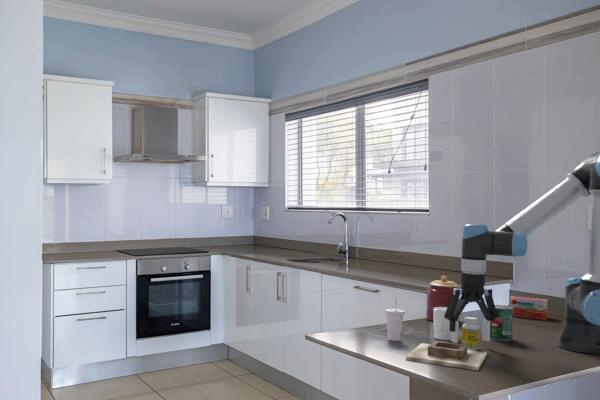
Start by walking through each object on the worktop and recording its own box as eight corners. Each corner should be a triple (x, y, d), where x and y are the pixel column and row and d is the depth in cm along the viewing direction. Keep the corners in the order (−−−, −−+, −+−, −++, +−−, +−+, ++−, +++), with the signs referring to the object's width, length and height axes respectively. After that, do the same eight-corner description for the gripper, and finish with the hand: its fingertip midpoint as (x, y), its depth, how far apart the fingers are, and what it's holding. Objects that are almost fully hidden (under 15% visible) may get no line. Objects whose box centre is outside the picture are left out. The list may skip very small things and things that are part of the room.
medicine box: (547, 317, 258) (548, 299, 258) (547, 320, 250) (547, 301, 250) (509, 313, 264) (510, 295, 264) (508, 316, 256) (509, 297, 256)
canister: (462, 324, 232) (464, 278, 233) (429, 322, 233) (431, 276, 233) (454, 317, 245) (456, 274, 246) (422, 316, 246) (424, 273, 246)
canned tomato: (483, 337, 208) (485, 306, 208) (493, 335, 214) (495, 304, 214) (505, 342, 203) (507, 309, 203) (515, 339, 208) (517, 307, 209)
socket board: (486, 355, 182) (487, 343, 182) (478, 370, 164) (478, 357, 164) (421, 346, 190) (421, 335, 190) (405, 359, 172) (406, 347, 172)
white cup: (456, 341, 200) (457, 311, 200) (432, 339, 201) (433, 309, 201) (455, 337, 207) (456, 308, 207) (431, 335, 209) (433, 306, 209)
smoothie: (405, 339, 200) (407, 297, 200) (400, 342, 194) (402, 299, 194) (387, 336, 202) (388, 295, 202) (381, 340, 196) (383, 297, 197)
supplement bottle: (473, 346, 194) (474, 316, 194) (481, 350, 189) (483, 319, 189) (458, 346, 193) (459, 316, 193) (466, 350, 188) (467, 319, 188)
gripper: (495, 271, 199) (492, 337, 199) (434, 271, 190) (431, 339, 190) (511, 274, 192) (508, 342, 192) (448, 273, 183) (445, 345, 183)
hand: (470, 341), depth 191 cm, fingers open, 11 cm apart
